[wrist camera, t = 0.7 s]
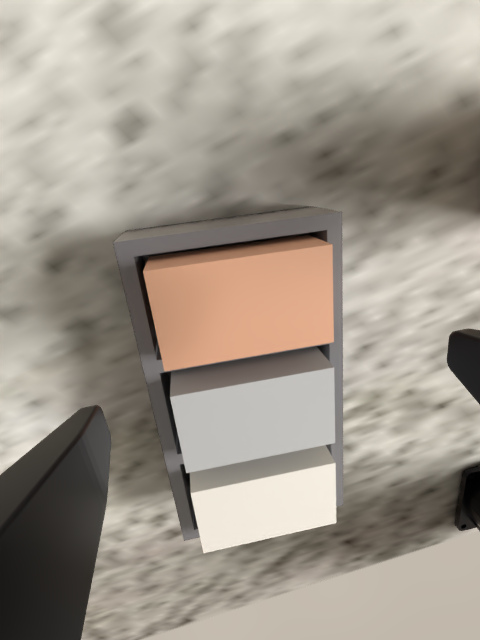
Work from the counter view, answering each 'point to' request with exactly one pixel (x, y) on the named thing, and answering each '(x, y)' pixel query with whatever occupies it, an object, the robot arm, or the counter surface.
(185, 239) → the key panel
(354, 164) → the counter surface
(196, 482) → the white key
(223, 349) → the terracotta key
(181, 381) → the grey key
